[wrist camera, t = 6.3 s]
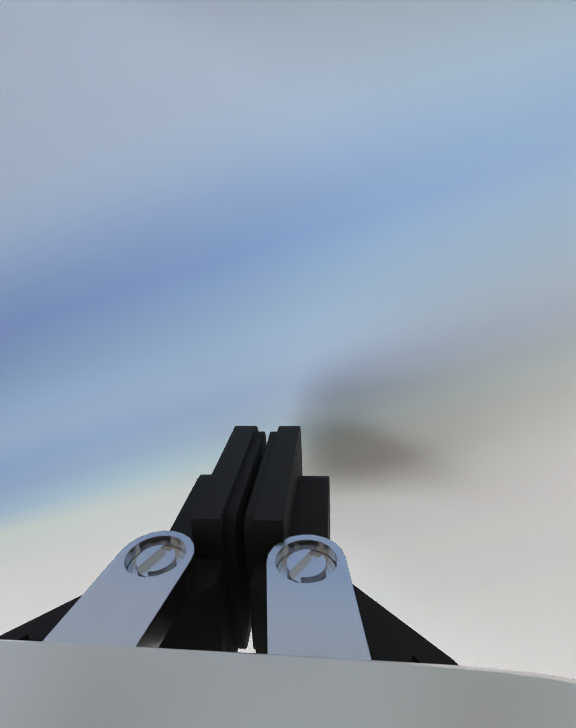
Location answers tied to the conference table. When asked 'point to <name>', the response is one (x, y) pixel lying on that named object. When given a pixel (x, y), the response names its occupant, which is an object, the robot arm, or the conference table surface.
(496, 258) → the conference table surface
